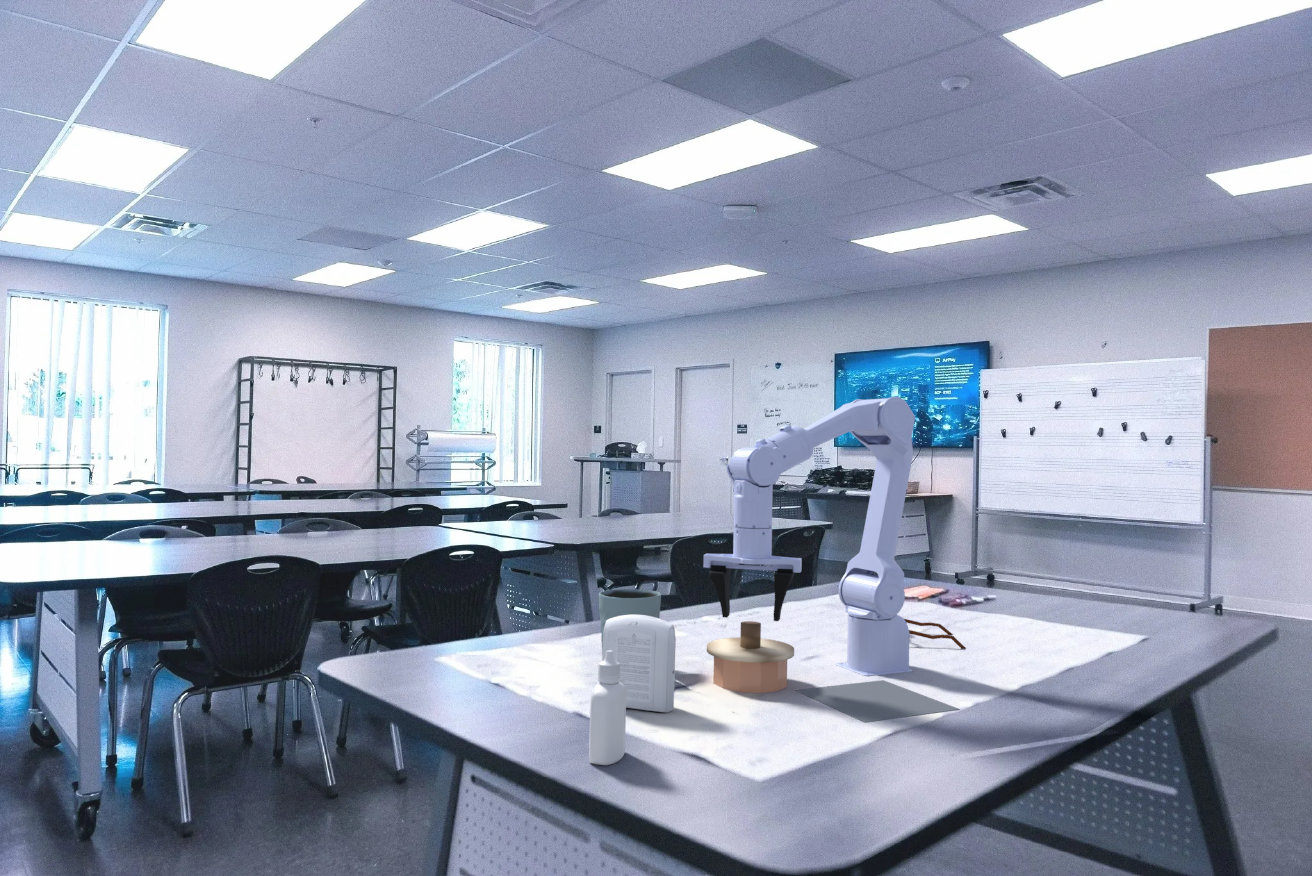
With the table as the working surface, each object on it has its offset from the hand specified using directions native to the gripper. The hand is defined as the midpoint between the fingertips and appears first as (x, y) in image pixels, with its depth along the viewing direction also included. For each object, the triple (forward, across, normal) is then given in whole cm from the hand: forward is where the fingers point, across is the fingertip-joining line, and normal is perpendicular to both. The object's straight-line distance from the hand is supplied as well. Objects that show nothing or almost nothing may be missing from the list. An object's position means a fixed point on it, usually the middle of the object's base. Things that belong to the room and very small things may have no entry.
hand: (751, 618), depth 130 cm
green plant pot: (+10, -20, +4) cm, 23 cm away
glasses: (+11, +26, +44) cm, 52 cm away
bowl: (+10, 0, 0) cm, 10 cm away
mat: (+10, +18, -3) cm, 21 cm away
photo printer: (+10, -13, -16) cm, 23 cm away
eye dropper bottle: (+10, -10, -36) cm, 39 cm away
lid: (+5, 0, 0) cm, 5 cm away
